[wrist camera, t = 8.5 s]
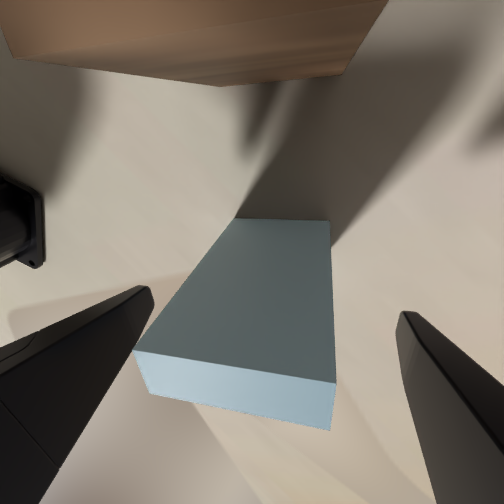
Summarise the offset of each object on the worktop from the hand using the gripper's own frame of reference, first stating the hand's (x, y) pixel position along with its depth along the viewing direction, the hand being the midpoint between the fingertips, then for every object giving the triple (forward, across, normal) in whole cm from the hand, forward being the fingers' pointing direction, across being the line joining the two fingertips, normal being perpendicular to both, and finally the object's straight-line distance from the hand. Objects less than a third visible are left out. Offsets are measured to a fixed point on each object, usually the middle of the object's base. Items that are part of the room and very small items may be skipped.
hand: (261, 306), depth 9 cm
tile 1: (+6, 0, 0) cm, 6 cm away
